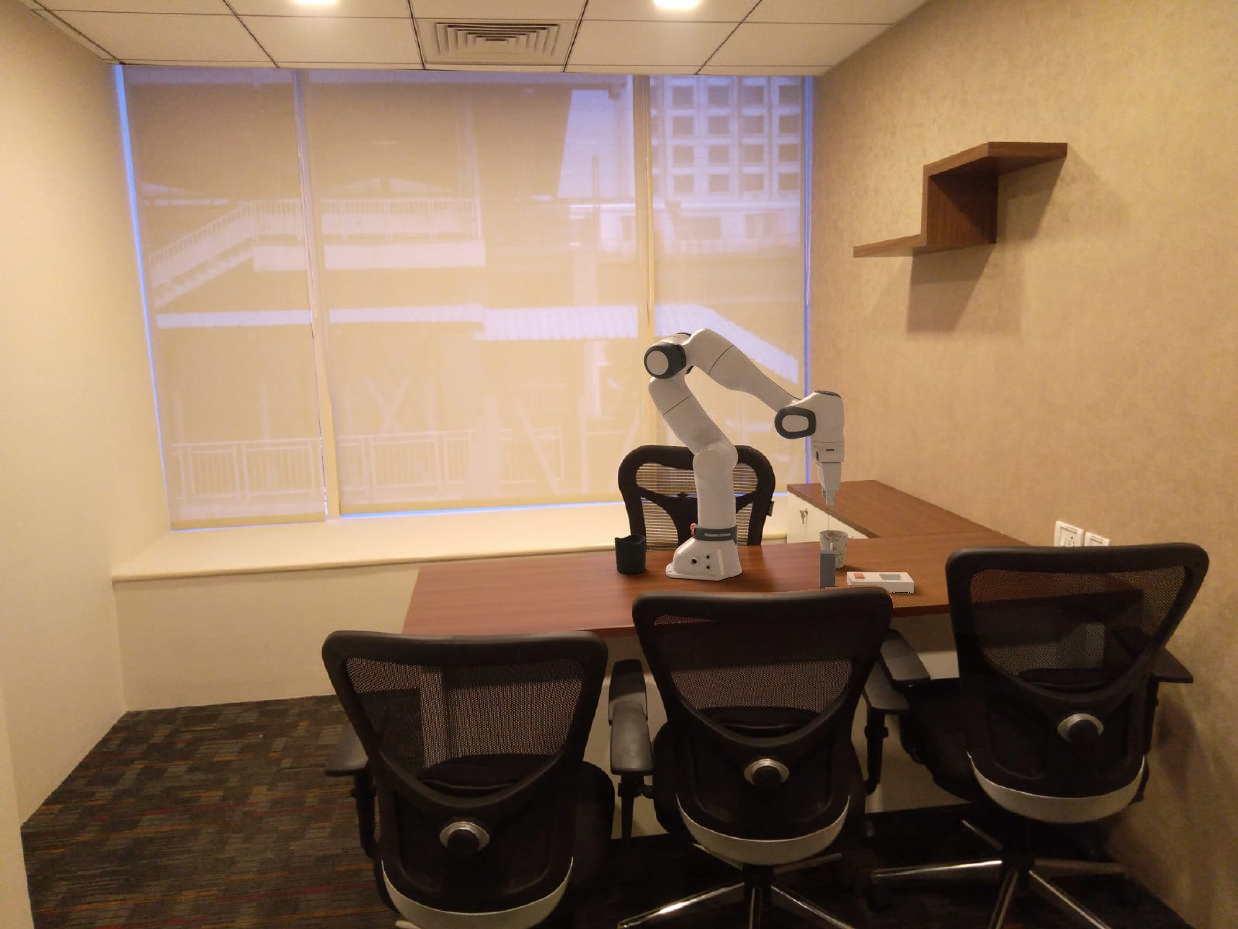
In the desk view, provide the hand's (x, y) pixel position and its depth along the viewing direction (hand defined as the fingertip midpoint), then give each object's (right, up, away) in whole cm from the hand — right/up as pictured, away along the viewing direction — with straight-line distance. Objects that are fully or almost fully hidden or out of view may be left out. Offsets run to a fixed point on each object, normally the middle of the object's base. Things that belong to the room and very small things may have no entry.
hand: (827, 501), depth 217 cm
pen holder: (-53, -22, +26) cm, 63 cm away
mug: (+7, -21, +21) cm, 31 cm away
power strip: (+14, -23, +1) cm, 28 cm away
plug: (+1, -24, +3) cm, 24 cm away
